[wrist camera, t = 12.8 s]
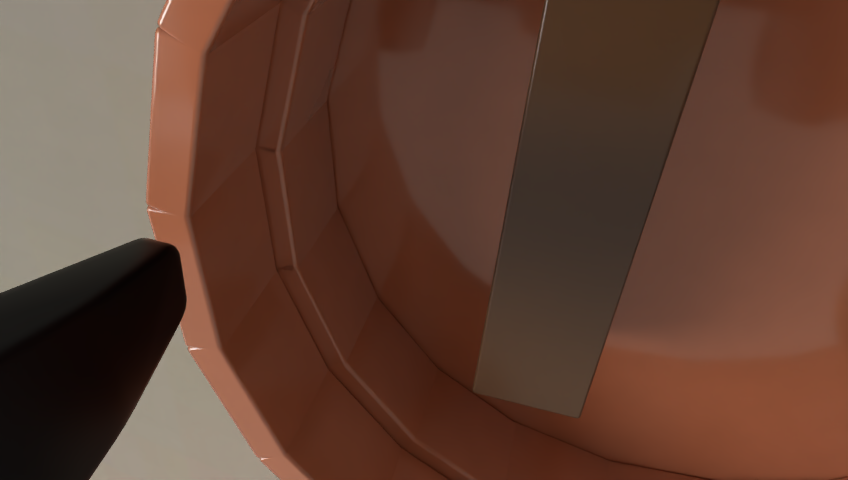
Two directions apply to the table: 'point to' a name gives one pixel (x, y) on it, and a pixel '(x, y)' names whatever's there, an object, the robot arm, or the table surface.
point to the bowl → (497, 243)
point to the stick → (583, 188)
